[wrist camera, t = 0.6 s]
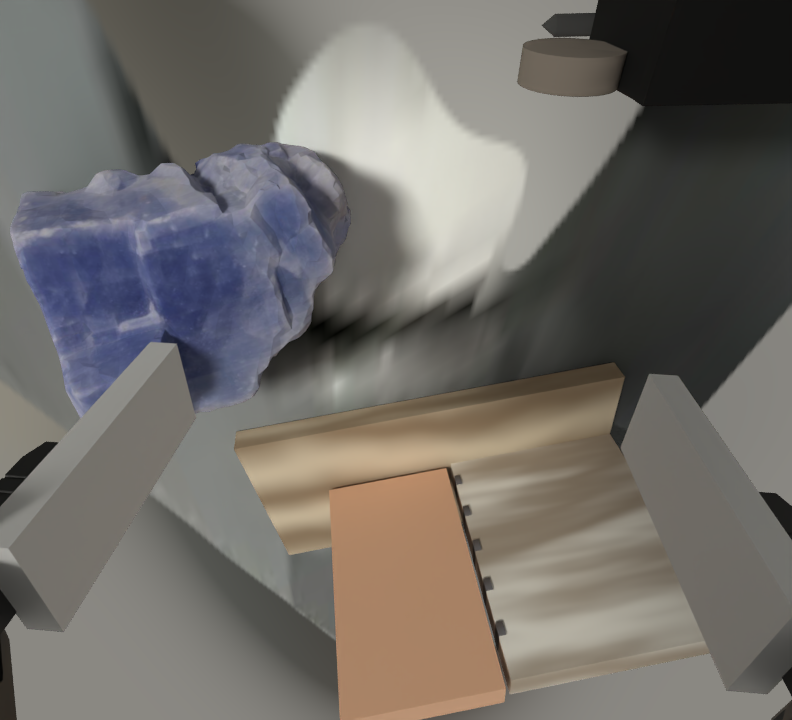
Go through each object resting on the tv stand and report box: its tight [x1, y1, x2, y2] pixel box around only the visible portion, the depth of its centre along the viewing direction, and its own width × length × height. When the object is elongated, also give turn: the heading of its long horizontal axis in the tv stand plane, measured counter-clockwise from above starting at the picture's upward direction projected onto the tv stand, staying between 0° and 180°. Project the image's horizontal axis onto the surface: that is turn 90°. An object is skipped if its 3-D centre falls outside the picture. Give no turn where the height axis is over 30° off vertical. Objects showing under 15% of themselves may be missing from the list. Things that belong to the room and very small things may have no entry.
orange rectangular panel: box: [329, 468, 506, 720], centre depth 31 cm, size 2×9×14 cm, turn 97°
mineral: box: [10, 142, 351, 418], centre depth 22 cm, size 15×10×10 cm
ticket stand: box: [234, 362, 710, 694], centre depth 32 cm, size 14×26×16 cm, turn 97°
